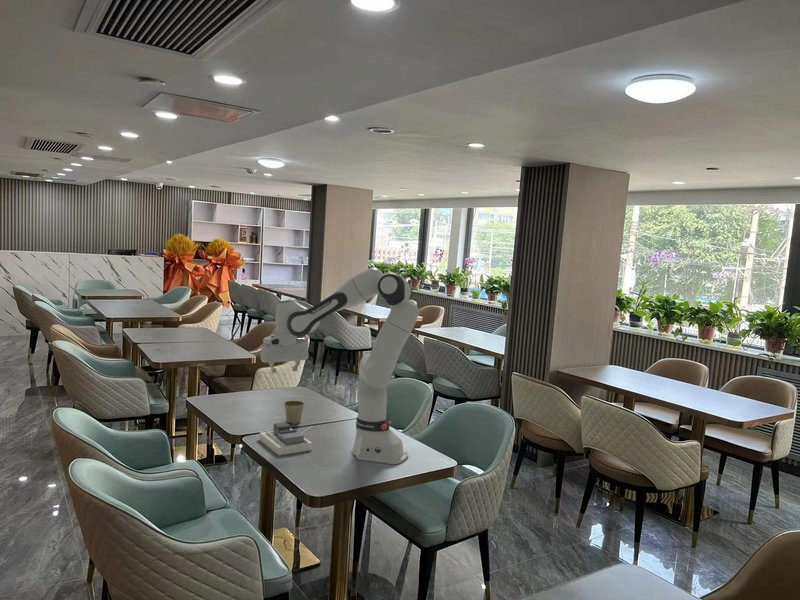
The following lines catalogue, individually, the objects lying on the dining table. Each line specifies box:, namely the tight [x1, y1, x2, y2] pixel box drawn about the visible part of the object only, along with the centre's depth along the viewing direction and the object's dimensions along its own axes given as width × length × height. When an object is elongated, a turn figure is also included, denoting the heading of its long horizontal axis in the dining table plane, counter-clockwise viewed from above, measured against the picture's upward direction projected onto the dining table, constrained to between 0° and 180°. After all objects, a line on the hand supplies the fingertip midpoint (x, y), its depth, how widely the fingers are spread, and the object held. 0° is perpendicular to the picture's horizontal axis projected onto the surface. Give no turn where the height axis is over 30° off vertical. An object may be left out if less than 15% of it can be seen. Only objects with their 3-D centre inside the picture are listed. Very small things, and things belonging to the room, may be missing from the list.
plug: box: [272, 421, 291, 436], centre depth 238 cm, size 5×5×7 cm
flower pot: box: [283, 400, 306, 424], centre depth 266 cm, size 9×9×9 cm
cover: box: [278, 428, 305, 445], centre depth 231 cm, size 7×8×3 cm
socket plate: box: [258, 427, 313, 456], centre depth 235 cm, size 20×14×4 cm
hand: (284, 371), depth 243 cm, fingers open, 8 cm apart
